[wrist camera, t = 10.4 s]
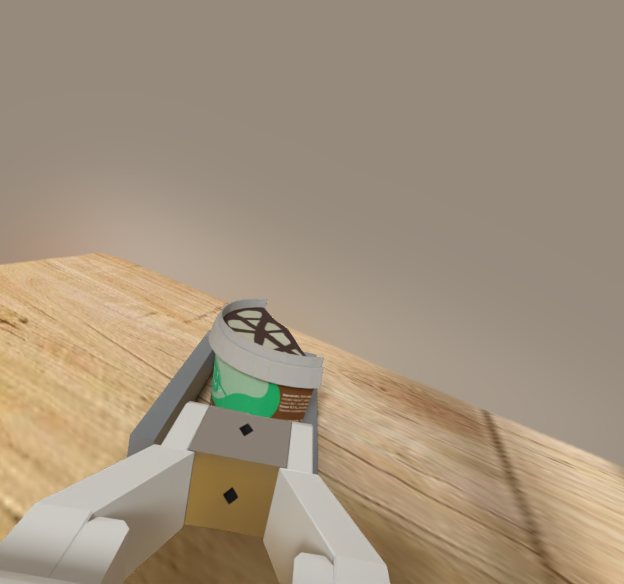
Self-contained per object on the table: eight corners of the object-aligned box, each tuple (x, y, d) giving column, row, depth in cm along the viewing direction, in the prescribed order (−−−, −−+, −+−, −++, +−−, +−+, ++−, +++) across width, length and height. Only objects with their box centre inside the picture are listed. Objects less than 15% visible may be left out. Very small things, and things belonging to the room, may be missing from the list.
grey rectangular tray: (308, 382, 42) (316, 354, 41) (305, 517, 25) (317, 474, 24) (203, 359, 41) (209, 330, 41) (123, 480, 24) (129, 435, 23)
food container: (181, 392, 35) (198, 291, 32) (244, 389, 38) (265, 296, 35) (210, 498, 24) (238, 362, 22) (294, 482, 27) (327, 361, 25)
